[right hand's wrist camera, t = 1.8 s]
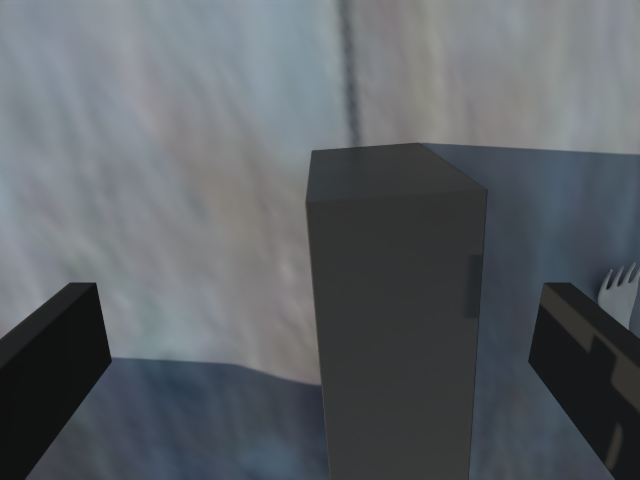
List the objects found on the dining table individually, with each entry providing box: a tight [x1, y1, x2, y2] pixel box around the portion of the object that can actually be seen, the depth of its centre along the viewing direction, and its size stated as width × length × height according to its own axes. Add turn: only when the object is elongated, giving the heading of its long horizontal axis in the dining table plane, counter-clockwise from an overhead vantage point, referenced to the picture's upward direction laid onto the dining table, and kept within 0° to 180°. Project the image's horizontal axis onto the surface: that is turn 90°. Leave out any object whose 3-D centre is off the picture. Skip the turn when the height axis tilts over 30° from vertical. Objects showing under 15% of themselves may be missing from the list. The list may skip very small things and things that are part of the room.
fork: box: [597, 262, 640, 330], centre depth 30 cm, size 3×16×2 cm, turn 21°
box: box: [305, 143, 487, 480], centre depth 25 cm, size 26×6×11 cm, turn 4°
